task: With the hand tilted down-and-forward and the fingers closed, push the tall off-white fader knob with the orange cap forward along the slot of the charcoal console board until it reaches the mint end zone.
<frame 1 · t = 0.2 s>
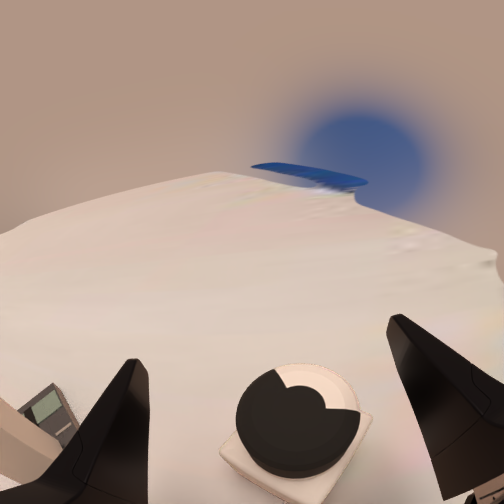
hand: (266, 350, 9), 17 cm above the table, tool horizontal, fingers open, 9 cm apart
fader knob: (2, 438, 12), point 9 cm above the table, slide at 0.0 cm
console board: (67, 480, 16), on the table
medicine bottle: (297, 461, 19), on the table
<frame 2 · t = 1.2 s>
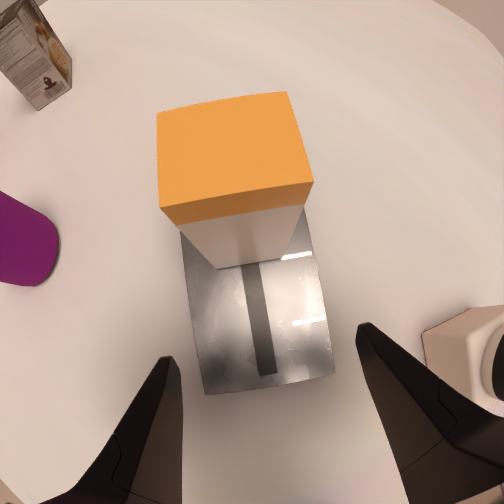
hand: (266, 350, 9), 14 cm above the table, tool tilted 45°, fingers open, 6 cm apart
beverage can: (38, 252, 25), on the table
coffee box: (55, 84, 30), on the table
fader knob: (239, 207, 16), point 9 cm above the table, slide at 0.0 cm
console board: (248, 255, 24), on the table
medicine bottle: (452, 353, 22), on the table
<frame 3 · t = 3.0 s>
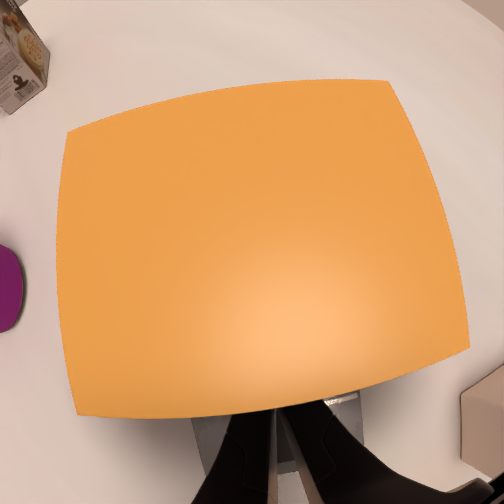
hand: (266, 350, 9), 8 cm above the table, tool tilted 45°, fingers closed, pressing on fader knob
beverage can: (4, 290, 19), on the table
coffee box: (31, 83, 24), on the table
fader knob: (255, 283, 10), point 9 cm above the table, slide at 0.0 cm, touching gripper
console board: (259, 313, 18), on the table
medicine bottle: (488, 409, 16), on the table
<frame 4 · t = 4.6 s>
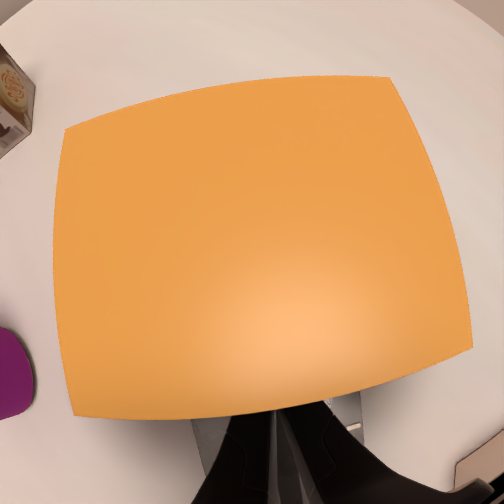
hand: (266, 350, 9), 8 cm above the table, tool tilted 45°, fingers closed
beverage can: (12, 369, 17), on the table
coffee box: (15, 122, 22), on the table
fader knob: (255, 282, 9), point 9 cm above the table, slide at 7.1 cm
console board: (277, 419, 16), on the table
medicine bottle: (480, 469, 14), on the table
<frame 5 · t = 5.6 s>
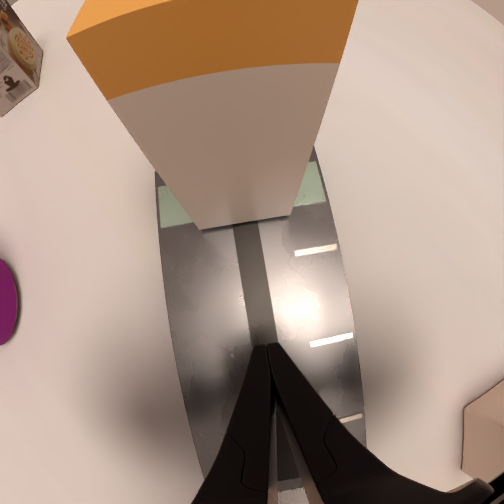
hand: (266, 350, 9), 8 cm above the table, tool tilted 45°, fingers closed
coffee box: (23, 82, 22), on the table
fader knob: (228, 120, 10), point 9 cm above the table, slide at 7.1 cm
console board: (262, 331, 17), on the table
medicine bottle: (489, 420, 15), on the table
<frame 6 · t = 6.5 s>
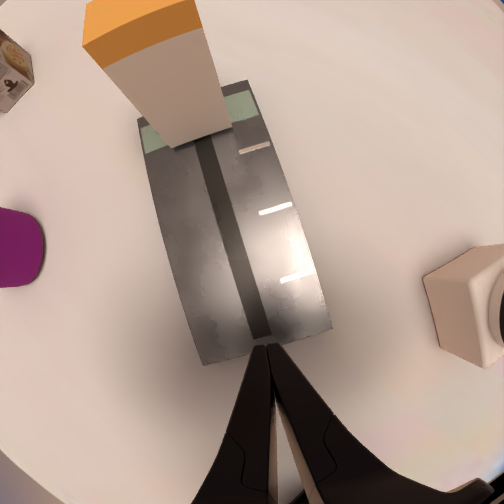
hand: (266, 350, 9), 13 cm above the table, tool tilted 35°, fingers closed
beverage can: (26, 250, 24), on the table
coffee box: (19, 83, 26), on the table
fader knob: (171, 70, 15), point 9 cm above the table, slide at 7.1 cm
console board: (226, 214, 23), on the table
medicine bottle: (458, 297, 21), on the table
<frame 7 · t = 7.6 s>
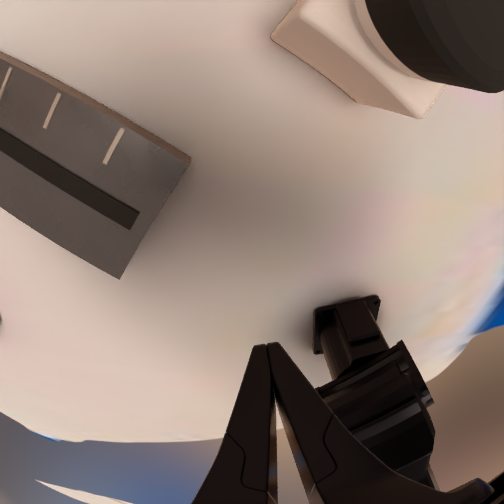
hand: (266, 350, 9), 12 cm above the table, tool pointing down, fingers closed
console board: (35, 147, 15), on the table
medicine bottle: (344, 32, 14), on the table
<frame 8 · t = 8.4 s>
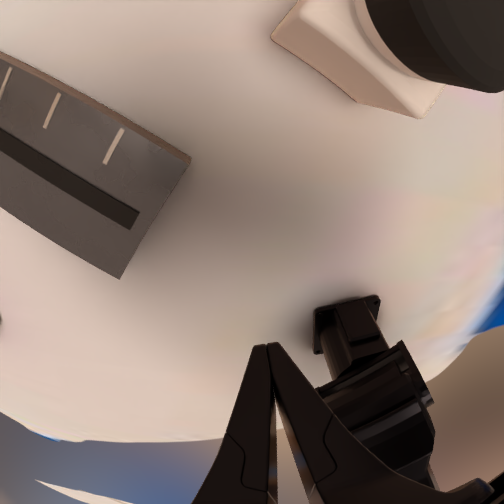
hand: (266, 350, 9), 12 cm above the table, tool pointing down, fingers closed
console board: (35, 147, 15), on the table
medicine bottle: (344, 32, 14), on the table
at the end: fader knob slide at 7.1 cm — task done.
